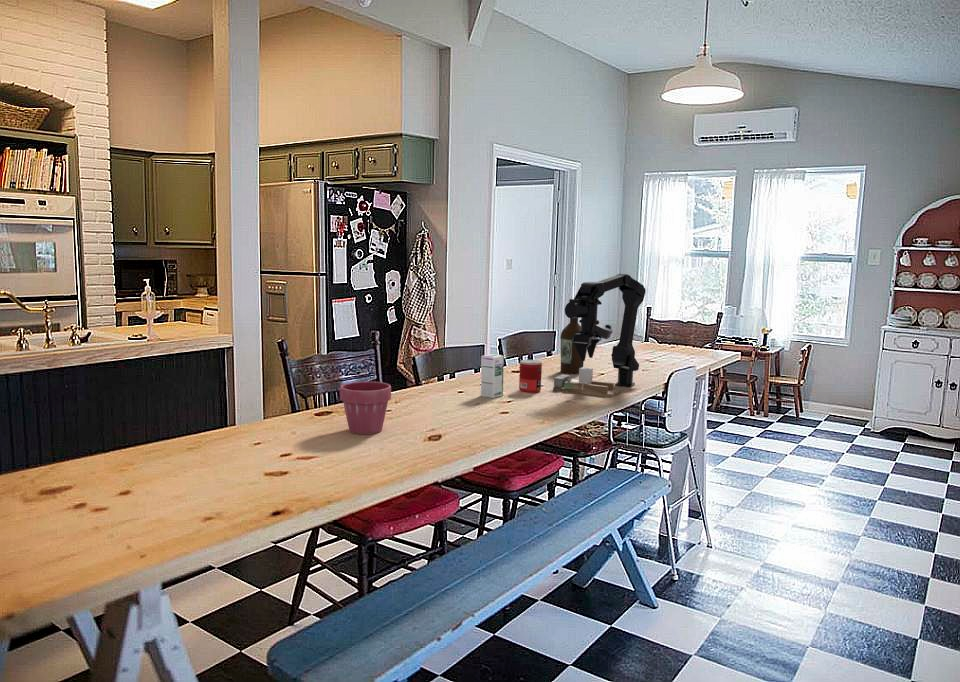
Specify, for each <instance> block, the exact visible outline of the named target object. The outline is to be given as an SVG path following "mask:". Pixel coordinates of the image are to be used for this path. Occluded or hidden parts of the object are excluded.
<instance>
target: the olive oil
mask: <svg viewBox="0 0 960 682" xmlns="http://www.w3.org/2000/svg"><path fill="white" fill-rule="evenodd" d="M579 331H581V324H579V318H569V323H568V324H567V325H566V326H565V327H564V328H563V329H562V331H561V333H560V337H559V338H560V373H562V372H563V373H562V374H566V373H568V374H567V375H579V369H580V368H582V367H584V362H585V361H581V358H580V356H579V353H578V351H577V348H576V346H575V344H574V342H572V336H573V335H575V334H577V333H579Z"/></svg>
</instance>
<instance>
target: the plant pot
mask: <svg viewBox="0 0 960 682" xmlns="http://www.w3.org/2000/svg"><path fill="white" fill-rule="evenodd" d="M339 399H340V401H341V402H343V408H344V412H345V417H346V421H347V422H346V423H347V425H348V430H349V432H350V433H352V434H357V435H371V434H372V435H374V434H378V433H380V432H382V430H383V427H384V422H385V419H386V418H385V417H386V413H387V409H388V408H387V407H388V403H389V401H390V400H392V386H391V384H389V383H386V382H383V381H382V382H381V381H354V382H347V383H344V384H342V385H340V387H339Z"/></svg>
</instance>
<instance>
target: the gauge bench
mask: <svg viewBox="0 0 960 682" xmlns="http://www.w3.org/2000/svg"><path fill="white" fill-rule="evenodd" d="M568 379H576V380H579V378H573V377H572V378H571V374H564V373H562V374H560V375H558V376H555V377H554V379H553V387H552V388H553V389H552V391H553V390H555V391H554V392H562V391H563V392H564V393H570V392H572V393H571V394H578V393H580V394H581V395H587V394H588V395H589V396H595V395H597V396H596V397H603V396H606V397H605V398H614V396H616V395H618V394H619V393H620V389H618V388H616V389H615V382H608V381H601V380H600V381H599V380H592V382H591V384H583V383H575V382H566V381H567V380H568ZM563 392H562V393H563ZM617 393H618V394H617ZM588 395H587V396H588Z"/></svg>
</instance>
